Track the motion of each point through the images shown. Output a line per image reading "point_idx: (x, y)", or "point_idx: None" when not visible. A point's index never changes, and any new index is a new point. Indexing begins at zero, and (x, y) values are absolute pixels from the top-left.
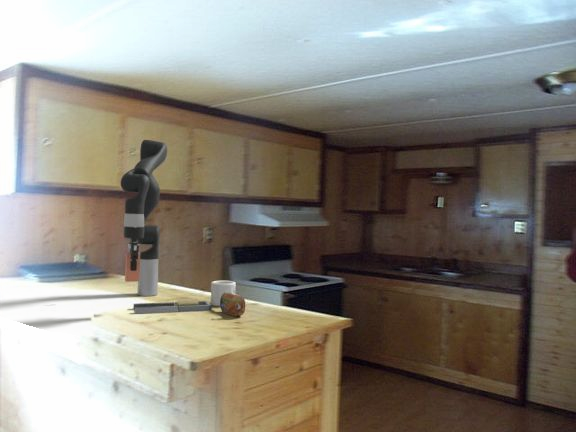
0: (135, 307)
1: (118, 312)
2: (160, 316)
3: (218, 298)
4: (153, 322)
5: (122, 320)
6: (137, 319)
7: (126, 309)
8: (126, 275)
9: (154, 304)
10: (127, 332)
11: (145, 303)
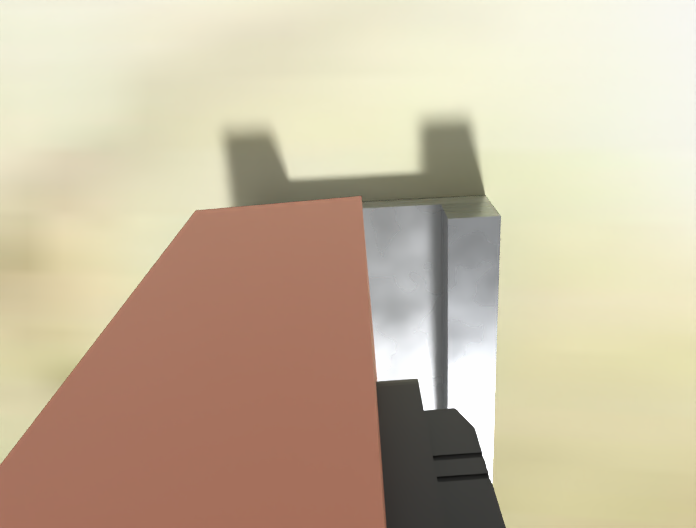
0: (443, 225)
1: (459, 56)
2: None
3: None
4: (19, 335)
5: (97, 99)
6: (131, 224)
7: (586, 133)
8: (169, 262)
9: (447, 393)
10: None
11: (481, 325)
